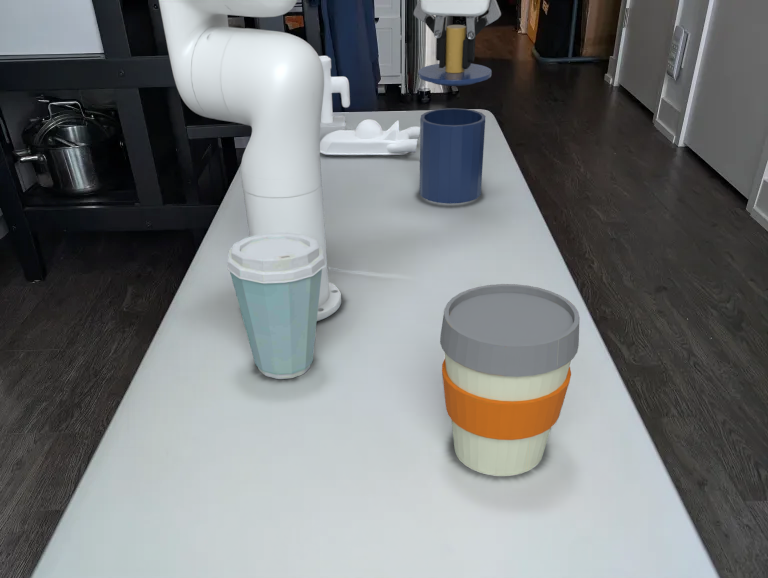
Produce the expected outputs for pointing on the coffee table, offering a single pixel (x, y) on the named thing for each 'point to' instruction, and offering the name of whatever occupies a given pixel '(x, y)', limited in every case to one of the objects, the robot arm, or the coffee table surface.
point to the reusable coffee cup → (506, 373)
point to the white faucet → (331, 86)
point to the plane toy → (371, 140)
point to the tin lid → (454, 63)
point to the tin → (451, 155)
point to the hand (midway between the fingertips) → (455, 65)
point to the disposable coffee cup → (278, 299)
